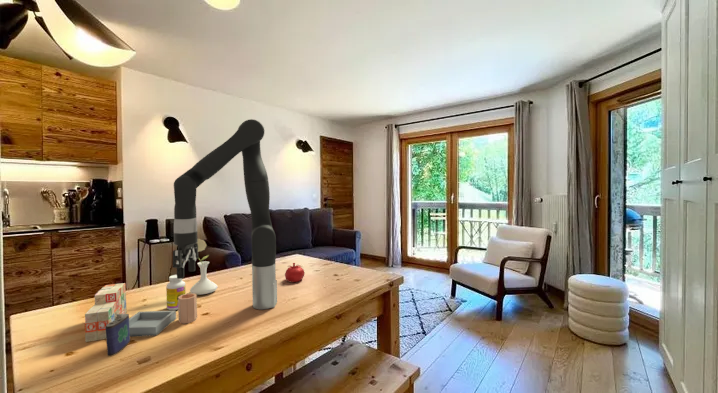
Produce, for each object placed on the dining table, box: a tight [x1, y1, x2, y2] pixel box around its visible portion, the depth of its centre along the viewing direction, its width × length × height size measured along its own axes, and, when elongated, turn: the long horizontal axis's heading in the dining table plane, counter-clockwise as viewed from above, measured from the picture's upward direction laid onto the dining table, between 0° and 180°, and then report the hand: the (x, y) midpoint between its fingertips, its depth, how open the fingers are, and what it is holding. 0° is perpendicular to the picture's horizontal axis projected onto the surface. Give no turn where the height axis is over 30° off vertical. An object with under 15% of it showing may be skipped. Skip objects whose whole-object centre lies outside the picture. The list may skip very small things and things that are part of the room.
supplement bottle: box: [166, 274, 187, 311], centre depth 127 cm, size 7×7×13 cm
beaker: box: [177, 292, 198, 325], centre depth 116 cm, size 6×6×9 cm
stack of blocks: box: [84, 282, 128, 343], centre depth 111 cm, size 21×6×12 cm, turn 24°
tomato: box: [284, 262, 306, 283], centre depth 162 cm, size 10×10×9 cm
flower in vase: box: [189, 238, 218, 296], centre depth 144 cm, size 13×11×25 cm
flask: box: [106, 313, 131, 357], centre depth 96 cm, size 9×3×11 cm, turn 8°
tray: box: [129, 310, 177, 338], centre depth 110 cm, size 13×13×3 cm
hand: (186, 274), depth 115 cm, fingers open, 8 cm apart
